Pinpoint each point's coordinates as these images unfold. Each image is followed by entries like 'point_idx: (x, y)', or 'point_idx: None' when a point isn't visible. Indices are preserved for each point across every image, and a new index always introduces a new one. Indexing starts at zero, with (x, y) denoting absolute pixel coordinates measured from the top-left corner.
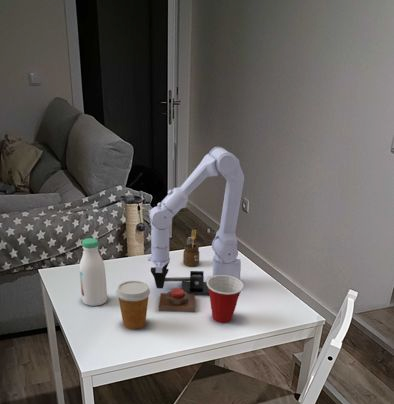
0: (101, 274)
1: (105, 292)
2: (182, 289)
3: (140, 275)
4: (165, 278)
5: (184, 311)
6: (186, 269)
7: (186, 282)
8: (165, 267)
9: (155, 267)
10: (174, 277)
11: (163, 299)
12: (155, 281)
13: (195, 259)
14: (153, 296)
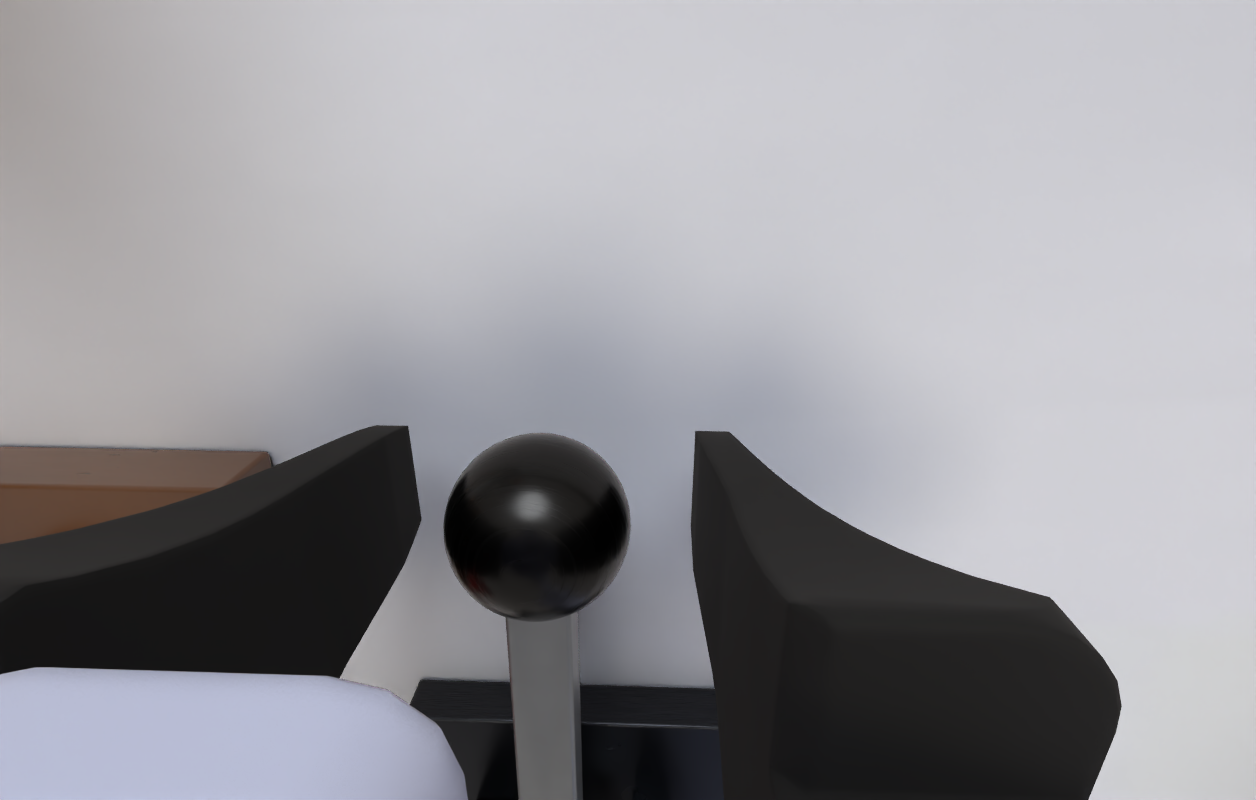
0: None
1: None
2: (469, 732)
3: (1177, 15)
4: (527, 629)
5: None
6: (1228, 741)
7: (695, 775)
8: (726, 775)
9: (743, 548)
10: (570, 765)
11: (24, 535)
12: (262, 479)
13: None
14: (287, 345)
